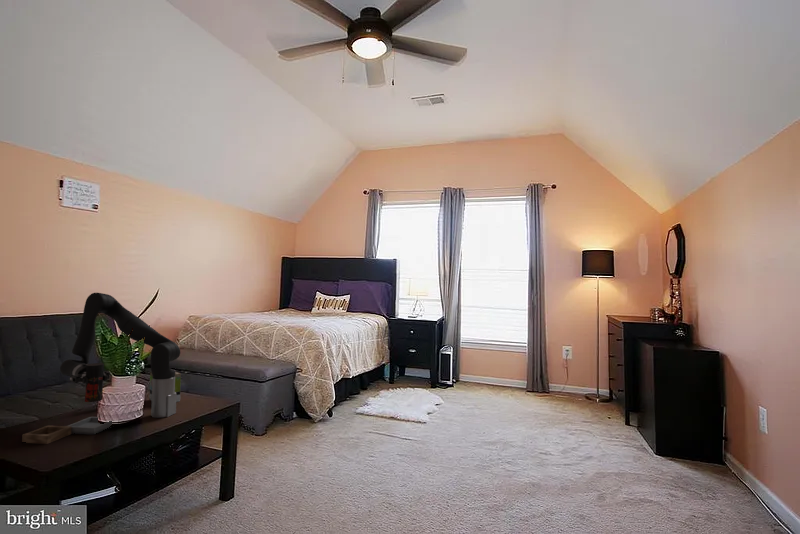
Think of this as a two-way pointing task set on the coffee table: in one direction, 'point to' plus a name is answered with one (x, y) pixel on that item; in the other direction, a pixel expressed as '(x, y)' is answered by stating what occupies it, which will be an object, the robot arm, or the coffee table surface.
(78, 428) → the tray
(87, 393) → the deodorant
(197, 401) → the coffee table surface
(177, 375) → the tea box
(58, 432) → the socket block
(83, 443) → the coffee table surface
